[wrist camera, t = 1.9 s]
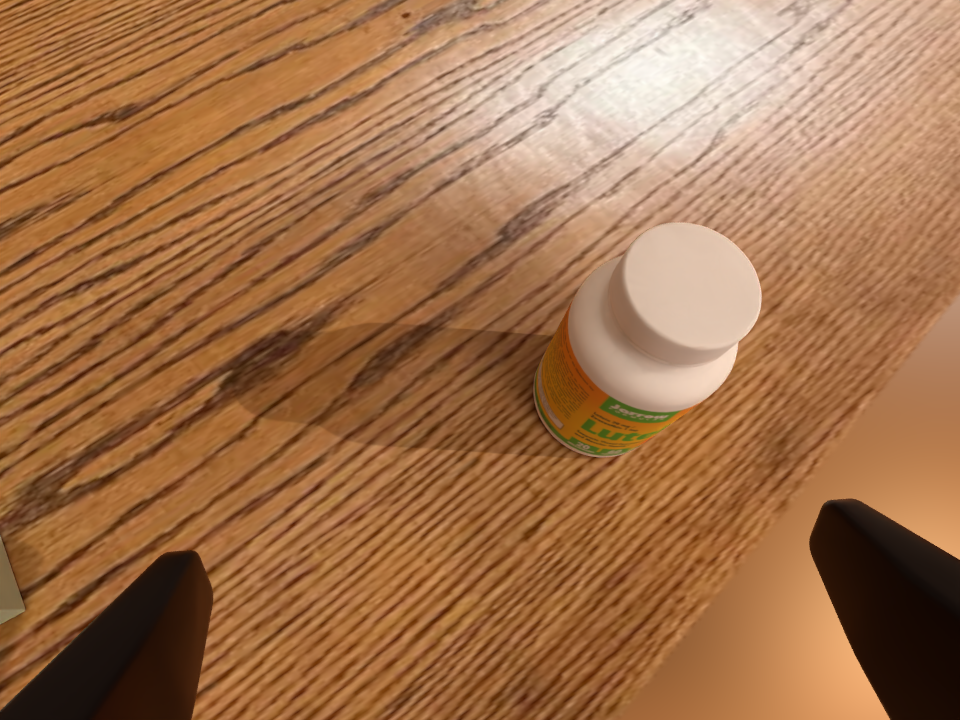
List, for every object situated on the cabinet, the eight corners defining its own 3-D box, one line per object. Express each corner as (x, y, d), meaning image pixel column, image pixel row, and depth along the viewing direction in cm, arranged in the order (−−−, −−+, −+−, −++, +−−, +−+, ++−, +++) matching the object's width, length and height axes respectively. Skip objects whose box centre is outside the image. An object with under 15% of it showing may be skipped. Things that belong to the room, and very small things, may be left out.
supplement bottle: (550, 472, 24) (633, 391, 15) (516, 349, 26) (572, 213, 17) (674, 445, 25) (821, 354, 16) (633, 329, 27) (744, 189, 18)
